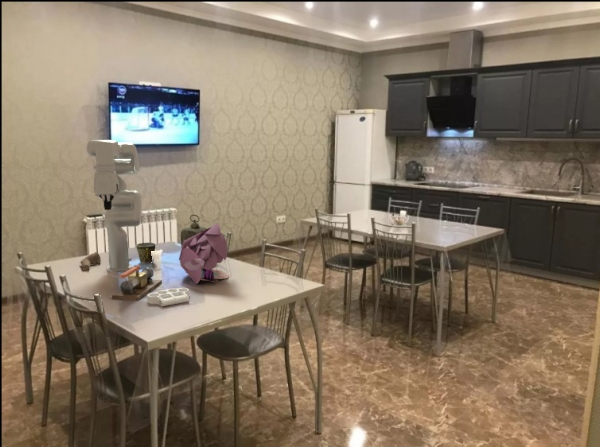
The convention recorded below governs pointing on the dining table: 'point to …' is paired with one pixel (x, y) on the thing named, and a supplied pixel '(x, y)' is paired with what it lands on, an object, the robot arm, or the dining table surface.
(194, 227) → the tabletop clock
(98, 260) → the pipe
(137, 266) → the lever
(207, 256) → the flower arrangement
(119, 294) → the valve board
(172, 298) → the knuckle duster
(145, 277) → the water pipe
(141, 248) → the ceramic cup
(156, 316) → the dining table surface
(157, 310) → the dining table surface
